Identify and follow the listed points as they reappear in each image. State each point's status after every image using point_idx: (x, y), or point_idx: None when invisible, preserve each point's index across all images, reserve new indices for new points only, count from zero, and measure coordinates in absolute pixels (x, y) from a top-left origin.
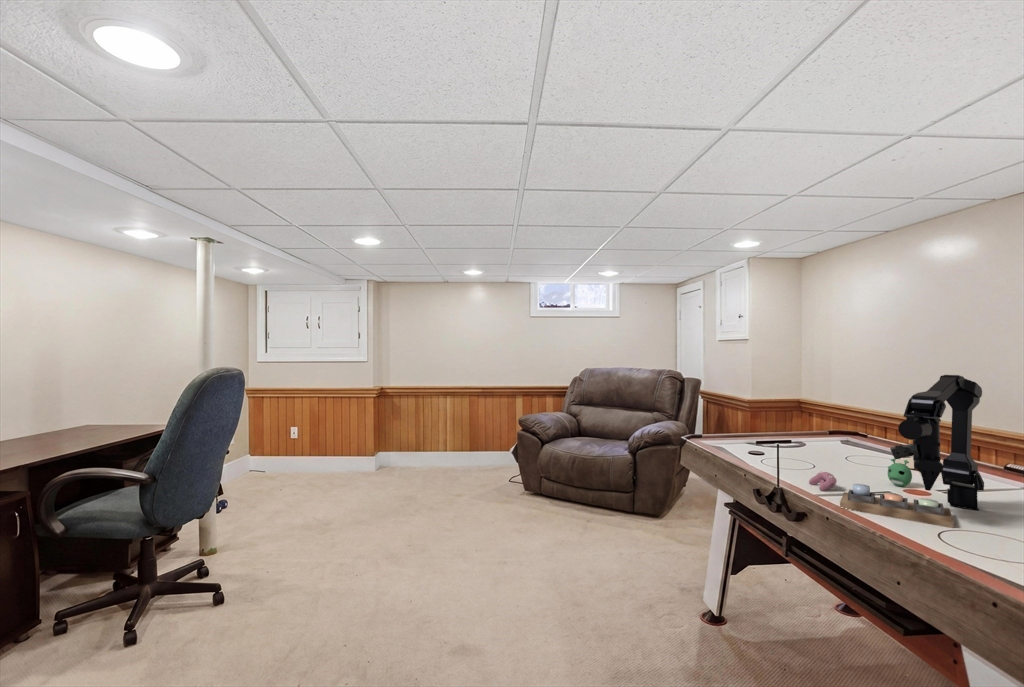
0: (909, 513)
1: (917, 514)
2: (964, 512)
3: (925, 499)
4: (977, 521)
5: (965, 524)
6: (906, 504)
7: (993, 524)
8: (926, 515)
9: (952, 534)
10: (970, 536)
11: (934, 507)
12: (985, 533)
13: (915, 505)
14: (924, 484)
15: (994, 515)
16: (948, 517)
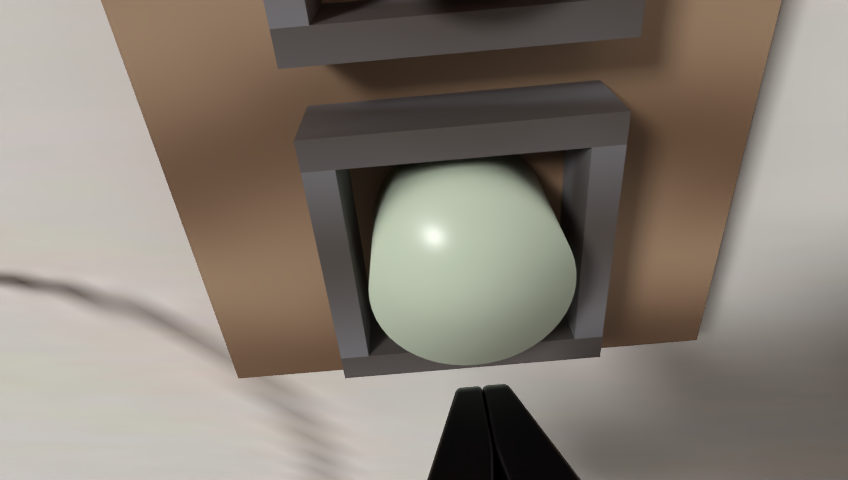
0: (130, 74)
1: (170, 149)
2: (840, 359)
3: (514, 264)
4: (599, 417)
5: (446, 377)
6: (281, 47)
7: (582, 469)
8: (213, 220)
9: (48, 336)
10: (124, 406)
11: (333, 317)
12: (299, 451)
13: (301, 151)
14: (432, 473)
15: (842, 466)
16: (326, 350)
